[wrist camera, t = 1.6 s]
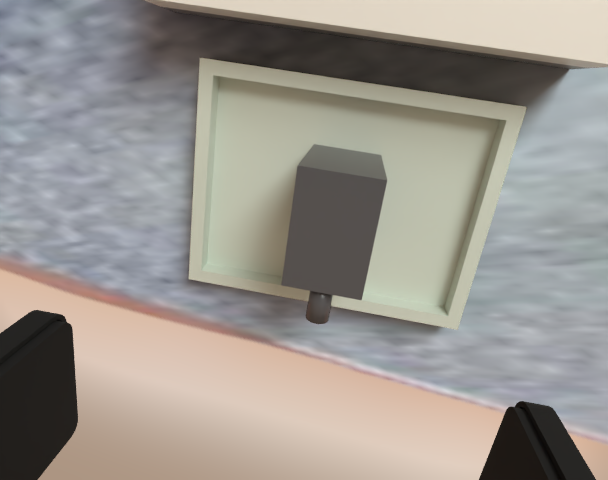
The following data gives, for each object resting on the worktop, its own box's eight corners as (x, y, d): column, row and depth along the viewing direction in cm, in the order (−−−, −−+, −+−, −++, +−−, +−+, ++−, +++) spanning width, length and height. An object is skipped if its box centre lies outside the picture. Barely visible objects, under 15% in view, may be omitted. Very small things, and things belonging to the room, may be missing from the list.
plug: (381, 154, 25) (387, 180, 19) (356, 276, 28) (354, 335, 22) (314, 144, 26) (297, 165, 19) (296, 265, 29) (276, 320, 22)
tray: (515, 105, 24) (527, 107, 23) (452, 315, 29) (457, 329, 27) (210, 59, 25) (199, 57, 24) (198, 268, 30) (188, 279, 29)
